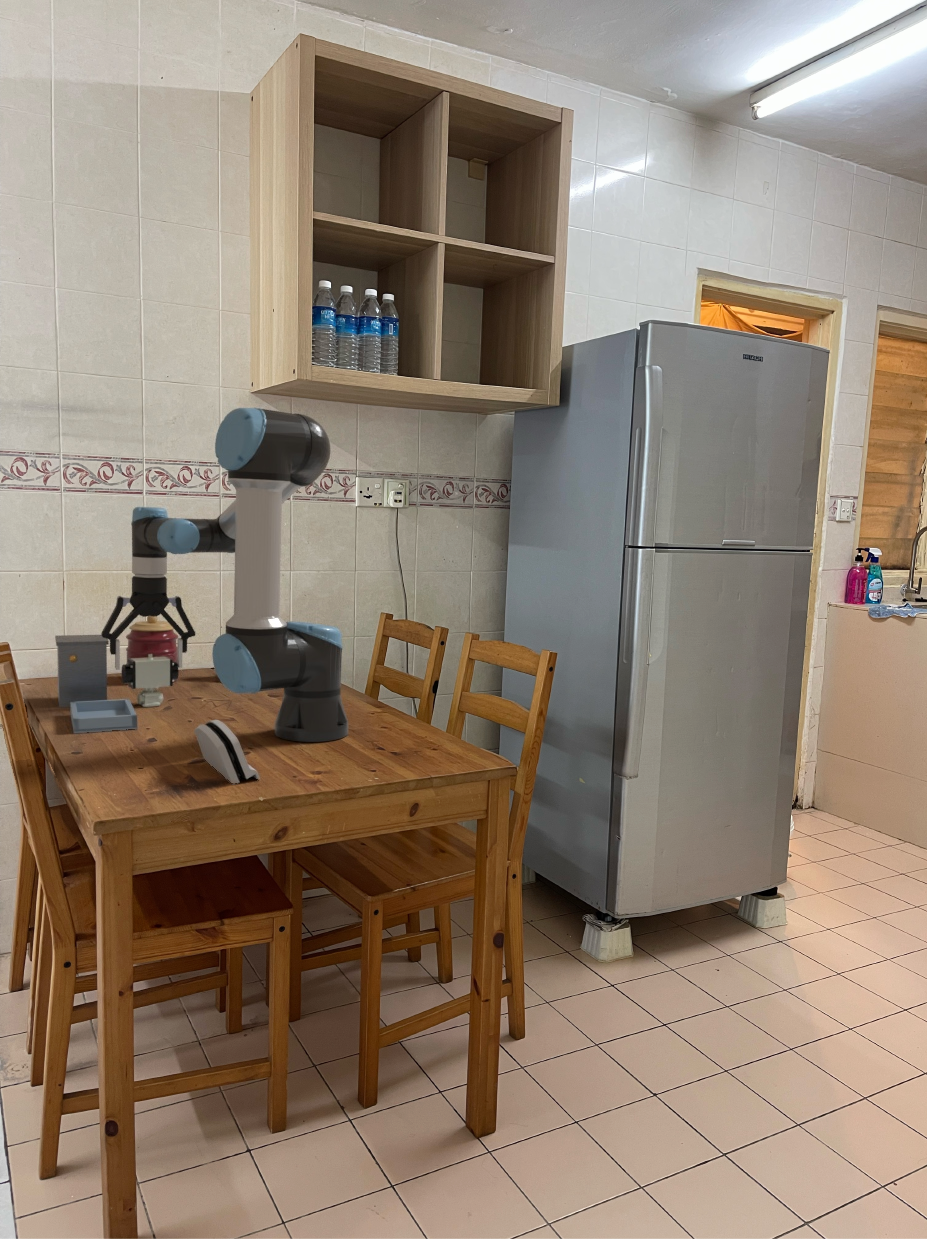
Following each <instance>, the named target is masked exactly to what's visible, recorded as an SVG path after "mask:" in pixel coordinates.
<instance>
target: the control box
mask: <svg viewBox="0 0 927 1239" xmlns="http://www.w3.org/2000/svg"><path fill="white" fill-rule="evenodd" d="M54 638H55V646H56V649H57V650H56V652H57V653H56V654H57V699H58V707H59V708H68V707H69V708H70V702H78V701H97V700H108V674H107V673H108V667H107V666H108V663H107V660H108V656H107V654H108V653H107V651H108V650H107V645H109V646H110V640H109V639H106V638H103V637H102V635H101V634H74V635H73V634H72V635H71V634H70V635H68V634H66V635H55V637H54Z"/></svg>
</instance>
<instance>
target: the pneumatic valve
mask: <svg viewBox="0 0 927 1239" xmlns="http://www.w3.org/2000/svg"><path fill="white" fill-rule="evenodd" d="M178 679H179V667H178V664H177V662H176V661H173V660H172V659H171V658H169V657H167V656H166V657H152V654H148V658H130V659H128V663H127V662H126V663H124V664H122V666H121V680H122V683H123V684H125V685H126V684H127V686H128V687H130V688H131V689H133V690H135V689H143V690H141V691H139V692H138V694H137V698H136V699H137V703H138V705H141V706H142V708H152V707H153V708H154V707H160V706H161V703H163V702H164V695H163V692H160V691H158V690H159V688H162V687H173V685H174V684H173V683H174V682H175V681H174V680H176V681H178Z"/></svg>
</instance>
